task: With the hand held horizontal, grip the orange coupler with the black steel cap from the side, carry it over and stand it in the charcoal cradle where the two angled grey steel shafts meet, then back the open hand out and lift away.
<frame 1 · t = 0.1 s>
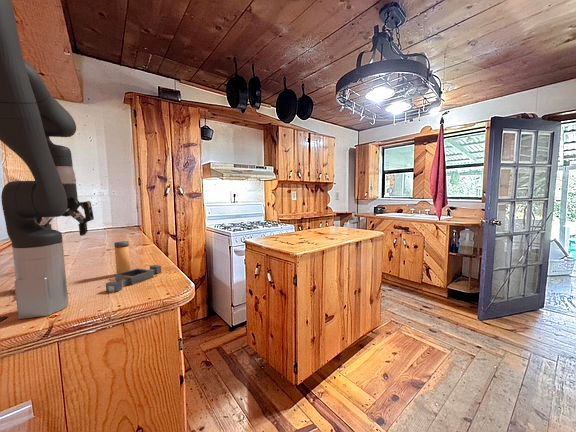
hand: (66, 236, 78), 17 cm above the table, tool pointing down, fingers open, 8 cm apart
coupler: (123, 273, 96), on the table
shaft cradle: (135, 279, 90), on the table
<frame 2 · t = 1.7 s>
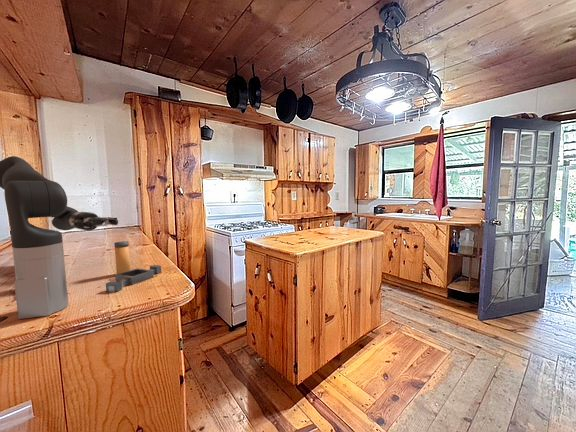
hand: (105, 223, 100), 18 cm above the table, tool horizontal, fingers open, 8 cm apart
nothing on the table moved.
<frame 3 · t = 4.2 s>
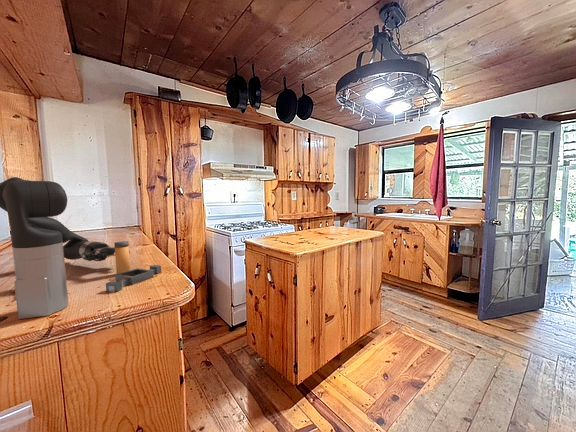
hand: (117, 254, 97), 7 cm above the table, tool horizontal, fingers open, 8 cm apart
nothing on the table moved.
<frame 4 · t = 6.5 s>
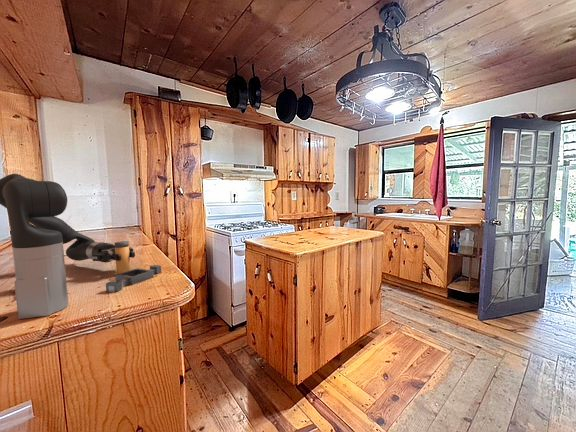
hand: (126, 256, 95), 7 cm above the table, tool horizontal, fingers closed on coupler, 4 cm apart
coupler: (123, 273, 96), on the table, touching gripper
everything else where it was.
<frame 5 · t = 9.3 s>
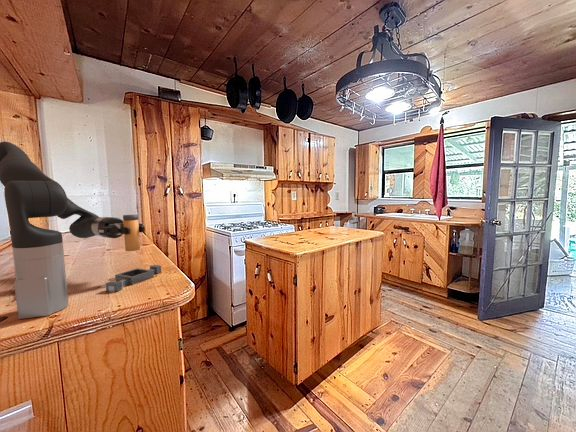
hand: (136, 230, 87), 18 cm above the table, tool horizontal, fingers closed on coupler, 4 cm apart
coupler: (132, 249, 89), point 11 cm above the table, touching gripper
everything else where it was.
when the fingers open (8 cm above the table, at t = 12.2 s): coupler stays where it is, resting in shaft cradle.
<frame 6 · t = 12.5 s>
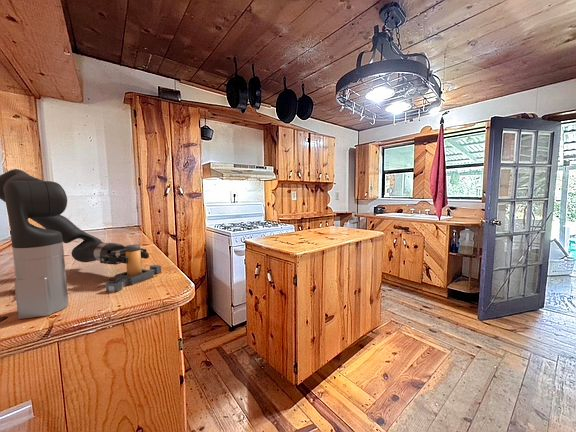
hand: (137, 257, 88), 8 cm above the table, tool horizontal, fingers open, 6 cm apart
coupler: (135, 279, 90), resting in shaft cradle
everything else where it was.
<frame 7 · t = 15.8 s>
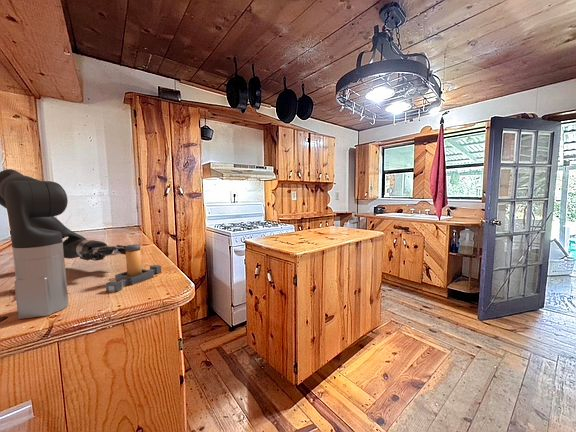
hand: (115, 254, 94), 8 cm above the table, tool horizontal, fingers open, 8 cm apart
nothing on the table moved.
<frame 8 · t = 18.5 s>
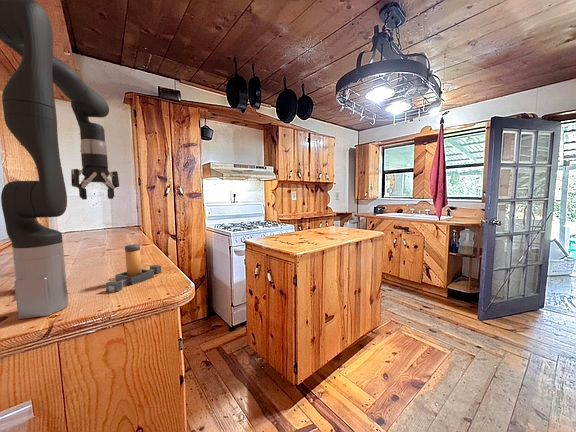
hand: (98, 199, 94), 28 cm above the table, tool pointing down, fingers open, 8 cm apart
nothing on the table moved.
at the end: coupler 0.1 cm off-centre on the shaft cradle, point 0.0 cm above the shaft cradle's base; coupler tilted 1°; the gripper is holding nothing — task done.
